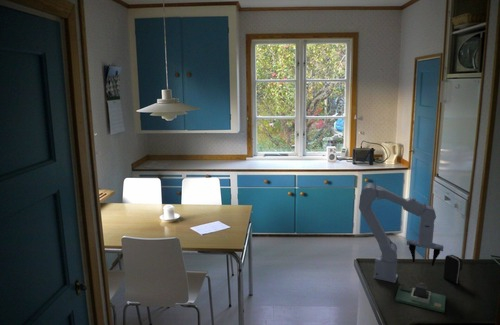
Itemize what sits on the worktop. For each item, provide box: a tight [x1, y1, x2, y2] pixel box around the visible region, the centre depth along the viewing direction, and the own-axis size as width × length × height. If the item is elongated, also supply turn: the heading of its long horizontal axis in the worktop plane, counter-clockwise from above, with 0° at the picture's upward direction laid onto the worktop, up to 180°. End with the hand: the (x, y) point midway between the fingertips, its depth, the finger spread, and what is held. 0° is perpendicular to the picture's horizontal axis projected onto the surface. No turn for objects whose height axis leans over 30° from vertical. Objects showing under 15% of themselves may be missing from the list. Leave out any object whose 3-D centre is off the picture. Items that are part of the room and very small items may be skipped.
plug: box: [415, 282, 428, 299], centre depth 161 cm, size 4×5×5 cm
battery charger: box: [443, 254, 464, 284], centre depth 176 cm, size 7×4×11 cm, turn 23°
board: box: [394, 285, 447, 314], centre depth 161 cm, size 18×12×2 cm, turn 62°
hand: (423, 263), depth 173 cm, fingers open, 7 cm apart
